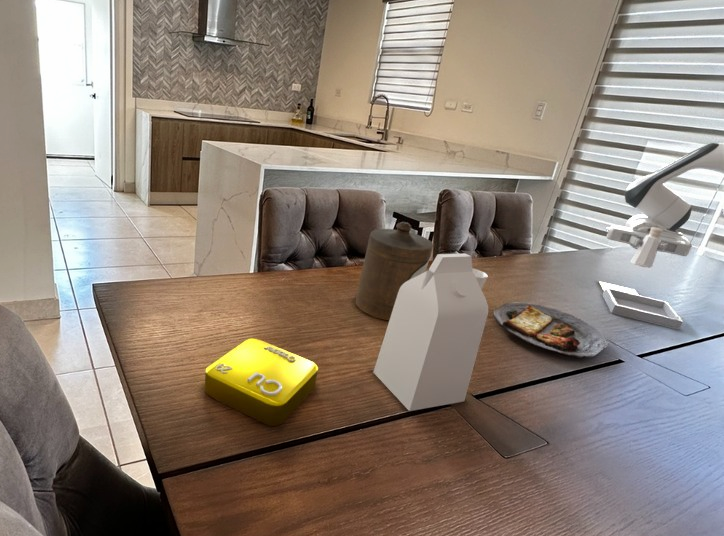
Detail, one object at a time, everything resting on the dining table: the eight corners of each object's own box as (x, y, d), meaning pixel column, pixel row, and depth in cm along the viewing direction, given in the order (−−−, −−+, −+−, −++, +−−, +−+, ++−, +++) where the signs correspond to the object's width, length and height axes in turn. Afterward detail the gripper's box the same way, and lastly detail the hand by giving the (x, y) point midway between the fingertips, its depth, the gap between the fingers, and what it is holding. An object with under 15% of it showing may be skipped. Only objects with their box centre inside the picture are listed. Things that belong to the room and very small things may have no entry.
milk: (424, 365, 94) (459, 242, 84) (464, 401, 84) (509, 267, 74) (373, 372, 90) (403, 243, 79) (409, 411, 80) (449, 270, 70)
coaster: (634, 290, 150) (634, 289, 150) (642, 301, 141) (642, 300, 141) (598, 282, 153) (599, 281, 153) (603, 292, 145) (604, 291, 145)
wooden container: (418, 326, 109) (442, 236, 101) (355, 315, 111) (373, 226, 102) (411, 300, 123) (432, 219, 114) (355, 290, 124) (371, 209, 116)
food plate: (578, 374, 98) (584, 360, 96) (474, 325, 114) (479, 312, 112) (616, 343, 113) (622, 330, 112) (521, 304, 129) (525, 292, 127)
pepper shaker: (643, 268, 135) (660, 231, 130) (625, 260, 139) (641, 225, 135) (656, 267, 136) (673, 231, 132) (638, 260, 141) (655, 225, 137)
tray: (663, 309, 137) (667, 301, 136) (678, 330, 125) (683, 321, 124) (602, 295, 143) (605, 287, 142) (611, 313, 130) (615, 304, 129)
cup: (450, 300, 126) (458, 272, 123) (456, 288, 134) (464, 262, 131) (477, 308, 123) (486, 280, 120) (482, 295, 131) (490, 269, 128)
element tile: (318, 385, 84) (322, 362, 82) (276, 431, 72) (279, 405, 70) (248, 354, 90) (251, 333, 88) (199, 392, 78) (200, 368, 76)
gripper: (609, 217, 149) (612, 226, 138) (689, 234, 140) (699, 245, 129) (601, 236, 152) (604, 246, 141) (679, 254, 143) (688, 266, 132)
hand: (650, 246), depth 135 cm, fingers closed on pepper shaker, 4 cm apart
